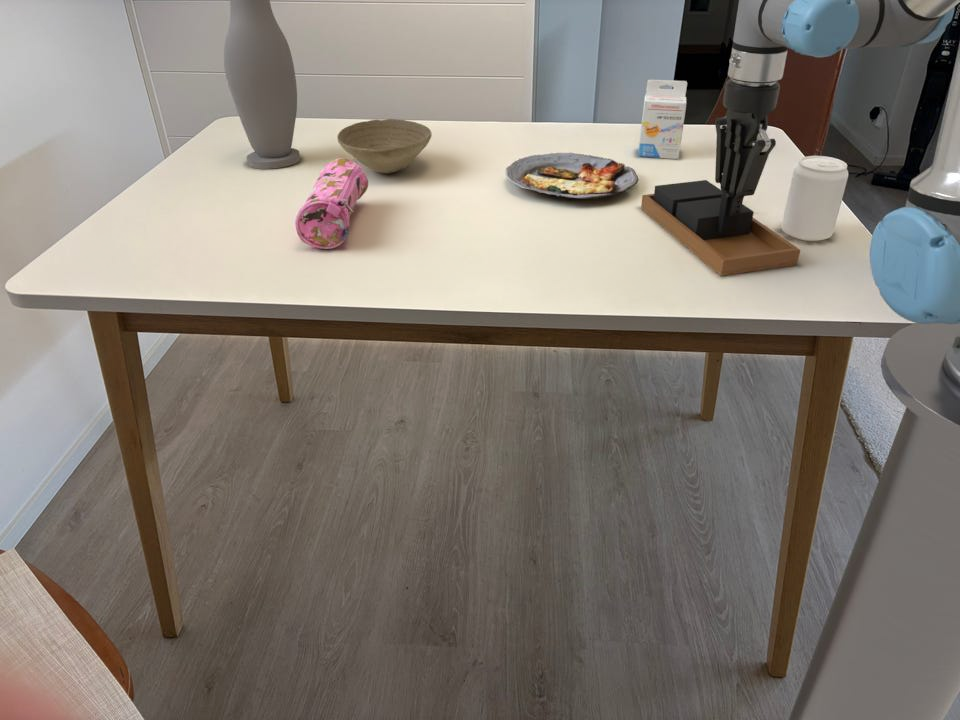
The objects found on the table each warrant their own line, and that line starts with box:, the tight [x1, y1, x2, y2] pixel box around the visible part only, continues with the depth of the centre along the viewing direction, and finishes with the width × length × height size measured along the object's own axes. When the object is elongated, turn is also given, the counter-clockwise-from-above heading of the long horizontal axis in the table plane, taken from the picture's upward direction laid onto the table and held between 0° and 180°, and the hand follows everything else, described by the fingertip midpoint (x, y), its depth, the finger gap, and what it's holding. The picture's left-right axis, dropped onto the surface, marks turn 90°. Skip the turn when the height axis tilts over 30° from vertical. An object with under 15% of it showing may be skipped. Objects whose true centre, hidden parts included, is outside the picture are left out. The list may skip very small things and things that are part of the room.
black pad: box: [676, 198, 755, 240], centre depth 125 cm, size 7×10×4 cm
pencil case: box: [294, 157, 369, 250], centre depth 128 cm, size 21×9×9 cm, turn 179°
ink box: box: [638, 79, 688, 160], centre depth 156 cm, size 8×5×15 cm, turn 78°
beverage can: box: [780, 155, 849, 242], centre depth 122 cm, size 8×8×12 cm
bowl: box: [336, 118, 432, 174], centre depth 151 cm, size 18×18×8 cm
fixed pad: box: [653, 179, 722, 218], centre depth 131 cm, size 7×10×4 cm
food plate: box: [505, 152, 639, 200], centre depth 145 cm, size 25×23×4 cm
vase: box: [223, 0, 301, 170], centre depth 150 cm, size 13×13×35 cm
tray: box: [640, 193, 801, 277], centre depth 125 cm, size 28×13×3 cm, turn 15°
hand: (725, 231), depth 122 cm, fingers closed
